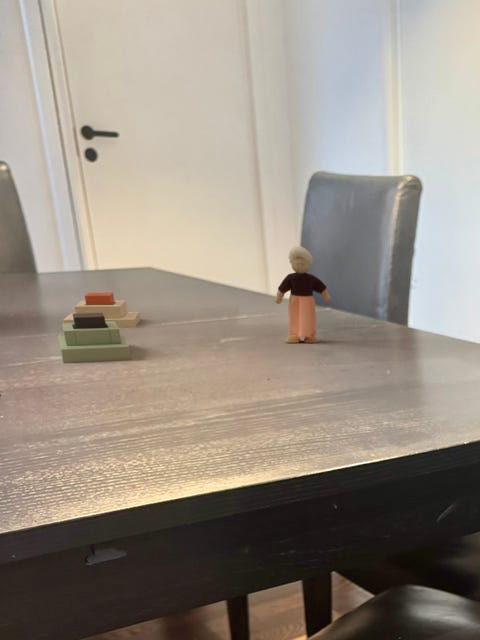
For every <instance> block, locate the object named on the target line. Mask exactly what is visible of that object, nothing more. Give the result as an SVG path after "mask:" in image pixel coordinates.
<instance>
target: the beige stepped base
mask: <svg viewBox="0 0 480 640" xmlns="http://www.w3.org/2000/svg"><path fill="white" fill-rule="evenodd" d="M114 302H115V304H114V305H86V301H85V300H80V301H79V302H78V303H77V304H76V305H74V311H72V312H71V313H69V315H67V316H66V317H65V318H63V320H62V323H74V319H73V314H76V313H103V315H104V317H105V322H111V321H115V323H116V325H117V326H118V328H119V329H120V328H122V329H123V328H136V327H137V325H138V324H139V322H140V321H141V320H142V319H141V313H140V311H128V308H127V301H126V300H114Z"/></svg>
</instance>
